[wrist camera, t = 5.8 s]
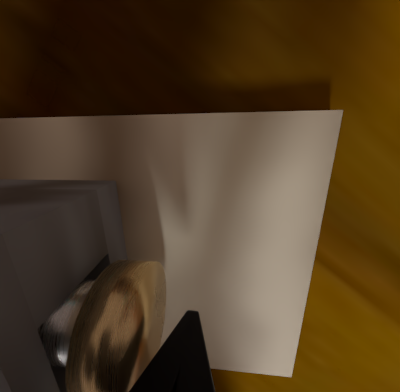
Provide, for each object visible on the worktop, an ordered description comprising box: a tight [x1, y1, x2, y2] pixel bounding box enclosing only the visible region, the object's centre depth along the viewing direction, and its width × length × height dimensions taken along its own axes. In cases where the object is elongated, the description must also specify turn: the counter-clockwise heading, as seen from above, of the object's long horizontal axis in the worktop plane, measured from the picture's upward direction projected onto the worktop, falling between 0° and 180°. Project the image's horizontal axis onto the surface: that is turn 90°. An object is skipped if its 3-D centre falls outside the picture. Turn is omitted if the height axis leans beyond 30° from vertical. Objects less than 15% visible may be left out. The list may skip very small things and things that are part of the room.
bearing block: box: [0, 110, 343, 392], centre depth 9 cm, size 22×16×7 cm
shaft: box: [37, 260, 166, 392], centre depth 9 cm, size 13×5×5 cm, turn 91°
